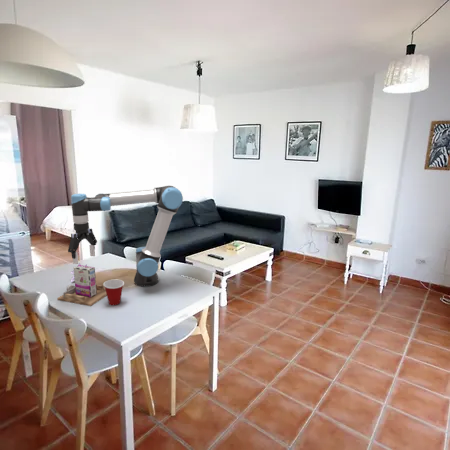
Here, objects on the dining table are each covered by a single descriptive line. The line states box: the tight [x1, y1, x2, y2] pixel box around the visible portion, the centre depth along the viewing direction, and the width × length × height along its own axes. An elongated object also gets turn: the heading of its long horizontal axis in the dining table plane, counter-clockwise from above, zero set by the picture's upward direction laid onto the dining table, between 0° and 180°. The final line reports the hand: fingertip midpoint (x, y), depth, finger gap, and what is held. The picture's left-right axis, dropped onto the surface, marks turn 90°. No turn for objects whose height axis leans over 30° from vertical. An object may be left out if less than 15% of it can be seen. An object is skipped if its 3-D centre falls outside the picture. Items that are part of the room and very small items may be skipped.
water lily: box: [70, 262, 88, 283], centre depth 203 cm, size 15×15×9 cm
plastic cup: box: [102, 278, 125, 306], centre depth 172 cm, size 11×11×12 cm
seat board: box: [56, 283, 107, 307], centre depth 181 cm, size 22×18×5 cm
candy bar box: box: [73, 264, 97, 297], centre depth 179 cm, size 11×5×16 cm, turn 70°
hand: (84, 259), depth 176 cm, fingers open, 13 cm apart
